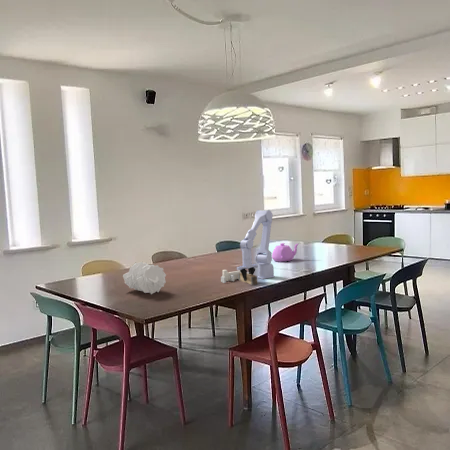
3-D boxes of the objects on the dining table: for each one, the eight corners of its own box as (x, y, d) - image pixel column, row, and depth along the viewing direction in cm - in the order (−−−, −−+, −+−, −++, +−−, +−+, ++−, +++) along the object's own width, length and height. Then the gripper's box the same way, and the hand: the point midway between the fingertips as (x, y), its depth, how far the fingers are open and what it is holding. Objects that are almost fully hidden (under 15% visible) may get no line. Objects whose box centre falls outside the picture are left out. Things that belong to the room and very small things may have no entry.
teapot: (300, 262, 355) (299, 244, 353) (271, 263, 358) (270, 245, 357) (299, 258, 376) (299, 240, 375) (272, 258, 380) (272, 241, 379)
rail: (244, 280, 301) (243, 272, 301) (257, 283, 288) (256, 275, 288) (239, 281, 299) (239, 273, 299) (252, 284, 286) (251, 276, 286)
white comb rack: (246, 276, 311) (245, 266, 310) (251, 278, 306) (250, 267, 305) (219, 281, 301) (218, 270, 300) (224, 283, 295) (223, 272, 295)
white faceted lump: (142, 294, 294) (163, 298, 275) (118, 286, 284) (138, 290, 264) (150, 266, 298) (172, 268, 279) (127, 257, 288) (148, 259, 269)
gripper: (253, 256, 300) (254, 277, 301) (233, 259, 292) (234, 280, 294) (259, 257, 293) (260, 279, 295) (239, 260, 286) (240, 282, 287)
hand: (248, 280), depth 294 cm, fingers closed on rail, 4 cm apart
